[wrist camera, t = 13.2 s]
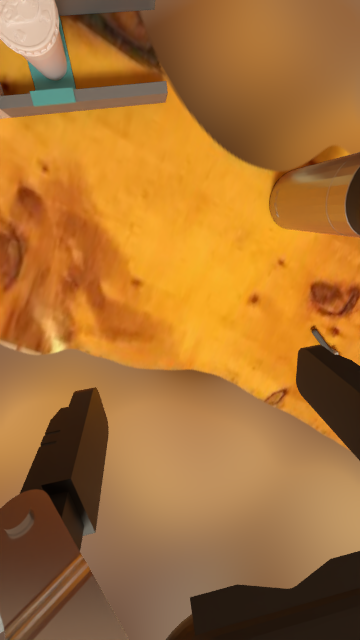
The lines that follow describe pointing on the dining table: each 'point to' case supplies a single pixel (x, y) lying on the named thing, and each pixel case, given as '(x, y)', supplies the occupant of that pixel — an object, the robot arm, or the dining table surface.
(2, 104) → the guide channel
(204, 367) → the dining table surface
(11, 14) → the smoothie
